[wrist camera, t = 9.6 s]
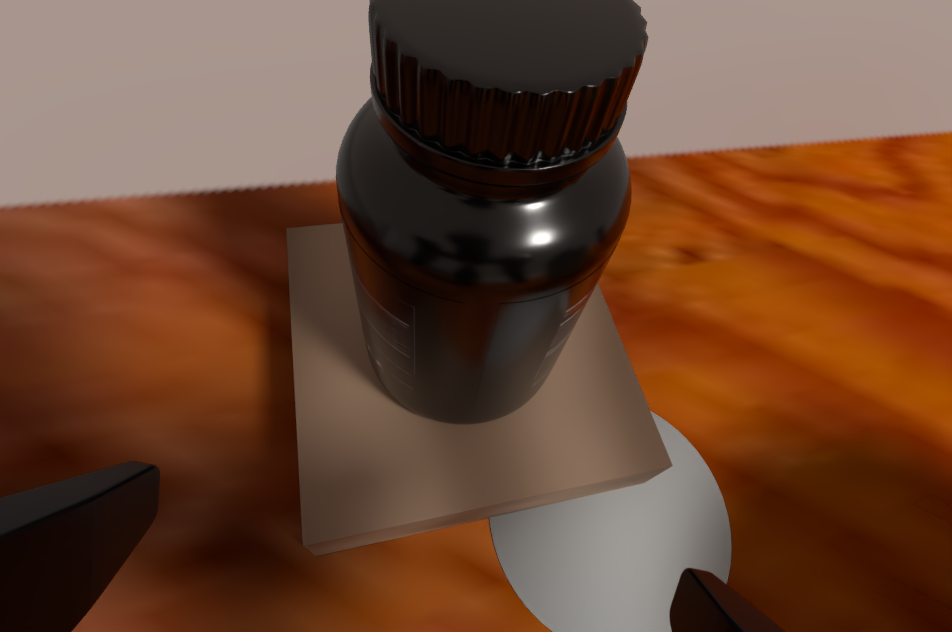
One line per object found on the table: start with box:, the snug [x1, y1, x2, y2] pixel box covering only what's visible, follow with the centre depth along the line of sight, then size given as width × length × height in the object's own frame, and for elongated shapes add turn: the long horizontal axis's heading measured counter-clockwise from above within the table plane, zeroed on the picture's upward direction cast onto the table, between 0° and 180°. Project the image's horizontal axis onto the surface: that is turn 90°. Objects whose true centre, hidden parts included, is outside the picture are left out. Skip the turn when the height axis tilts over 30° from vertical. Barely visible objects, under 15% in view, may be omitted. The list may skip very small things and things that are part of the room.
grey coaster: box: [490, 412, 732, 632], centre depth 19 cm, size 9×9×1 cm
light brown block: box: [286, 223, 673, 556], centre depth 20 cm, size 12×12×2 cm
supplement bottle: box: [336, 0, 648, 425], centre depth 14 cm, size 7×7×12 cm
